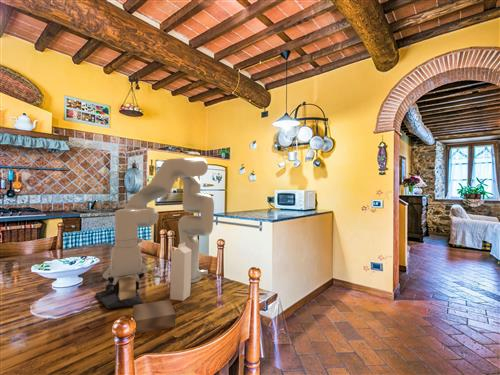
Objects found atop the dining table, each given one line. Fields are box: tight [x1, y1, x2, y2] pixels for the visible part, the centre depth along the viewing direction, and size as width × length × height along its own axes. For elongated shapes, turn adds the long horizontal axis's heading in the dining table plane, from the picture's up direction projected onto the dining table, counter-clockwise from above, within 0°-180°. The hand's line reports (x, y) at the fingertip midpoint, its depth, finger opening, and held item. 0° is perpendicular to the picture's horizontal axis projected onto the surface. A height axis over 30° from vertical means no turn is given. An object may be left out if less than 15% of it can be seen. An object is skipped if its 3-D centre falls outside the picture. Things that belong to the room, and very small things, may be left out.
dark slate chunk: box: [95, 281, 144, 310], centre depth 103 cm, size 15×22×5 cm
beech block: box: [117, 275, 136, 300], centre depth 93 cm, size 5×5×6 cm
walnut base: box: [132, 299, 177, 335], centre depth 85 cm, size 12×12×4 cm
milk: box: [169, 242, 192, 302], centre depth 106 cm, size 6×6×22 cm
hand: (126, 292), depth 93 cm, fingers closed on beech block, 5 cm apart
